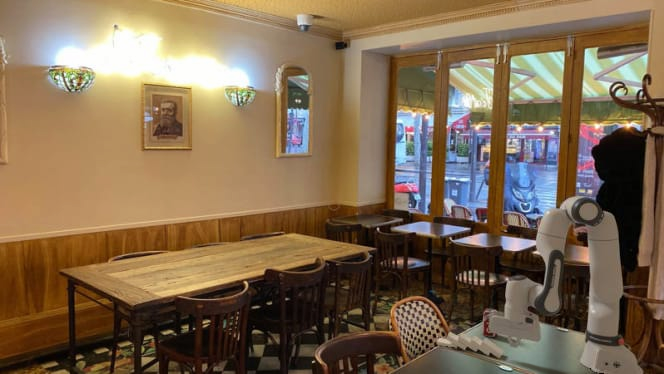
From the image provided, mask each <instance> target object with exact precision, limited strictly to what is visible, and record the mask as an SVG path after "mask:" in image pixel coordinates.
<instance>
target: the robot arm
mask: <svg viewBox="0 0 664 374" xmlns="http://www.w3.org/2000/svg"><path fill="white" fill-rule="evenodd" d="M575 223H576V224H581V225H585V228H586V230H587V245H588V246H587V247H588V248H587V249H588V261H589V262H588V263H589V274H590V275H589V276H590V278H589V292H588V295H589V296H588V315H587V326H586V328H585V329H586V330H585V333H584V342H585V344H584V349H583V352H582V355H581V357H580V359H579V361H580V363H581V364H582V365H583V366H584V367H586V368H588V369H590V368H591V369H590V370H592V371H593V372H595V373H596V372H597V373H596V374H599V373H604V374H605V373H608V374H644V369H643V368H641V366H639V365H638V361H637V358H636V356H635V354H634V352H632V351H631V350H630V349H629V348H627V347H626V346H625V340H624V338H623V335H622V334H619V333H618V332H619V323H620V322H619V321H620V299H621V298H622V296H623V294H624V284H623V276H622V275H623V274H622V266H621V265H622V264H621V256H620V241H619V230H618V229H619V228H618V224H617V222H616V219H615V216H614V215H613V214H612V213H611V212H608V211H606V210H603V209H602V208H601V206H600V205H599V203H598V202H597V201H596V200H594V198H591V197H587V196H583V195H573V196H572V195H571V196H569V197H566V198H564V200H562V202H561V203H560V204H559V205H558V206H557V207H555V208H554V207H553V208H549V209H548V208H547V210H545V211H544V214H543V215H542V218H541V220H540V223H539V226H538V229H537V234H536V238H535V248H536V250H537V252H538V253H539V254H540V257H542V260H543V262H544V263H545V273H544V281H543V285H542V284H541V283H538V282H536V281H533V280H531V279H530V278H528V277H527V276H526V275H520V274H519V275H517V274H515V275H513V276H510V277H509V278H508V279H507V282H506V285H505V286H506V287H505V304H504V311H499V310H497V311H493V312H491V313H490V320H491V322H490V327H489V330H490V332H492V333H496V334H497V335H502V336H507V340H508V342H509V347H510V348H514V349H518V346H519V343H520V342H521V340H526V341H532V342H535V343H538V342H540V341H541V339H542V328H541V324H540V322H539V318H540V317H539V315H537V314H536V313H533V312H531V311H529V310H528V307H533V308H534V309H535V310H536V311H537V312H538V313H539V314H540V315H542V316H544V317H552V316H555V315H556V314H558V313H559V312H560V311H561V308H562V305H563V301H562V300H563V299H562V282H563V274H564V268H565V246H566V243H567V242H566V240H567V235H568V231H569V229H570V227H571V226H572V225H573V224H575ZM512 338H516V341H513V340H512Z"/></svg>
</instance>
